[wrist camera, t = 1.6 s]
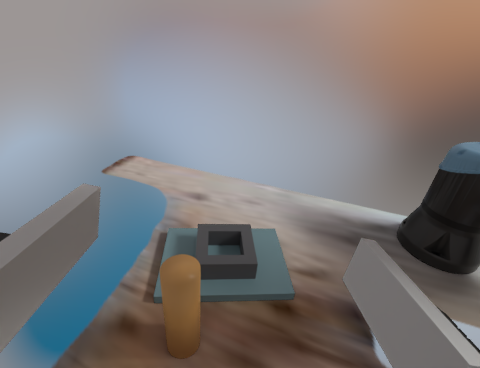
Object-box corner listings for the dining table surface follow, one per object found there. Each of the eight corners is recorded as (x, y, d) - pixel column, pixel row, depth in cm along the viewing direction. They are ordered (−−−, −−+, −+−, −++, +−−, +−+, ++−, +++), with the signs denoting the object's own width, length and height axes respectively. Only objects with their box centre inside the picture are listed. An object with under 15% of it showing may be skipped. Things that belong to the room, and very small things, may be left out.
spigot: (200, 325, 38) (201, 254, 31) (199, 357, 34) (199, 285, 27) (169, 326, 38) (163, 254, 31) (164, 359, 34) (155, 286, 27)
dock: (273, 234, 57) (277, 215, 54) (293, 299, 43) (299, 278, 41) (169, 233, 54) (167, 214, 52) (154, 303, 41) (151, 280, 38)
